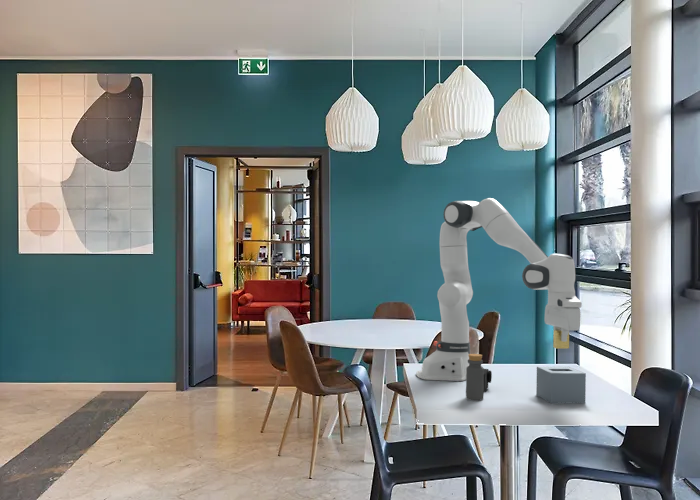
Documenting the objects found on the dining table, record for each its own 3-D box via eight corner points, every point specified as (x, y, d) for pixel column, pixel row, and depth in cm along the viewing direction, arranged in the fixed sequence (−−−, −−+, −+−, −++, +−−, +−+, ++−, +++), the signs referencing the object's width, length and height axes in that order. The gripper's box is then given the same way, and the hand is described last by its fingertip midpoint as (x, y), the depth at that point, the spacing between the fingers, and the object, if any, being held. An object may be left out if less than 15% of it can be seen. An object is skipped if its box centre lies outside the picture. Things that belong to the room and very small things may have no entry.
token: (556, 348, 201) (556, 331, 201) (553, 347, 203) (553, 330, 203) (569, 348, 201) (569, 331, 201) (565, 347, 204) (566, 330, 204)
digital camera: (487, 393, 209) (488, 374, 209) (472, 392, 211) (472, 372, 211) (491, 387, 218) (491, 369, 218) (476, 386, 220) (477, 367, 220)
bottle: (480, 401, 196) (480, 356, 197) (463, 399, 199) (464, 355, 200) (485, 398, 201) (486, 354, 201) (469, 395, 204) (470, 352, 205)
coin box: (550, 403, 196) (551, 373, 196) (536, 394, 207) (536, 366, 208) (585, 403, 197) (585, 373, 197) (568, 394, 209) (569, 366, 209)
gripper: (540, 298, 213) (539, 336, 212) (565, 302, 192) (565, 344, 192) (556, 298, 213) (556, 336, 213) (584, 302, 193) (583, 344, 193)
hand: (561, 340), depth 202 cm, fingers closed on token, 2 cm apart
